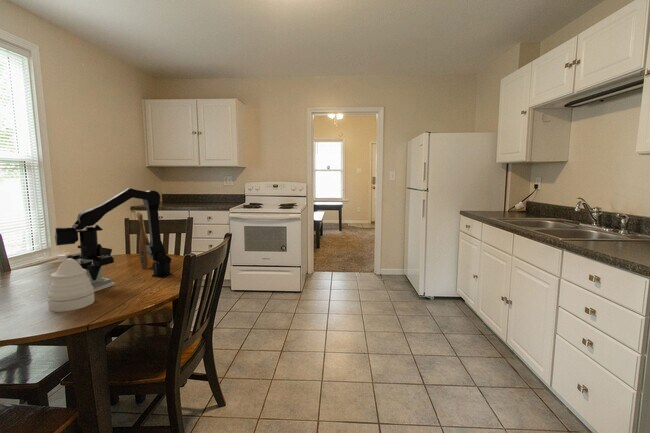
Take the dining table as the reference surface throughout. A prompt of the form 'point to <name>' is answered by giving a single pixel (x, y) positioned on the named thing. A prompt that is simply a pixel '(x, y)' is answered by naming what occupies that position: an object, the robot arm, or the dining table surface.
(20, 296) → the dining table surface
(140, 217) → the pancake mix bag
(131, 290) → the dining table surface
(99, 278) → the pale green block
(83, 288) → the honey pot
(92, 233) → the robot arm
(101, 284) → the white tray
